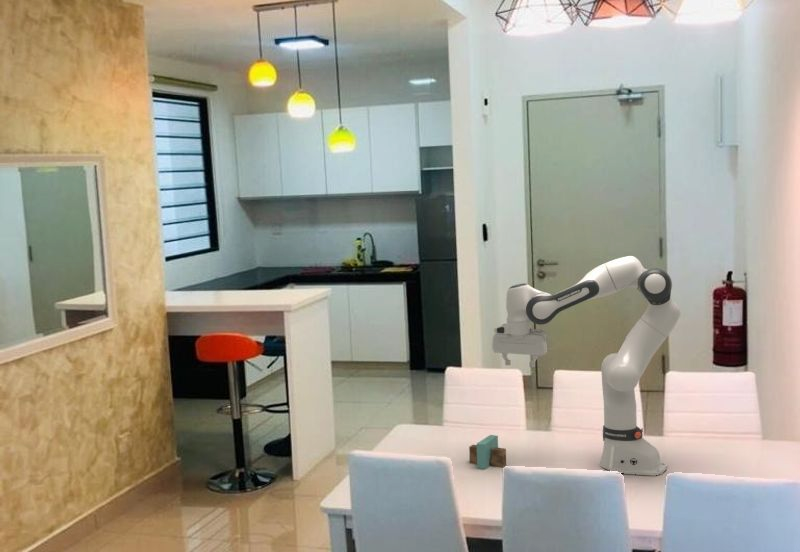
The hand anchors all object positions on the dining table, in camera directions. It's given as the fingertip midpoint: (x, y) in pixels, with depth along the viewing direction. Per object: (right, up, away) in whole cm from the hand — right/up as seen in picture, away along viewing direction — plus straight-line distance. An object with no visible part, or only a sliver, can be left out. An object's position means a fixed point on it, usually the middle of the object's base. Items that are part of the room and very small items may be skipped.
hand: (519, 366), depth 311 cm
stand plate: (-12, -35, -3) cm, 37 cm away
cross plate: (-12, -35, -3) cm, 37 cm away
